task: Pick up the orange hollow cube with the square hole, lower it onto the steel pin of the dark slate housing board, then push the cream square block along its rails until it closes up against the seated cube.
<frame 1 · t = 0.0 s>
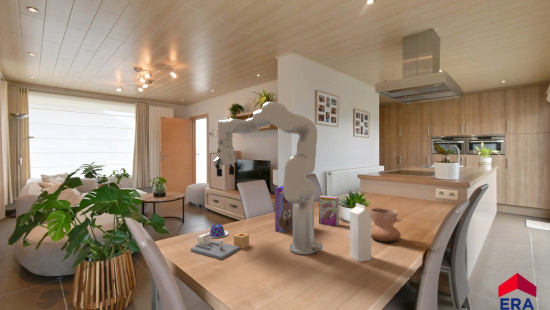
hand: (225, 175, 133), 31 cm above the table, tool pointing down, fingers open, 9 cm apart
candy bar box: (328, 224, 148), on the table
milk: (360, 258, 102), on the table
ceramic jug: (382, 239, 123), on the table
pudding: (217, 235, 132), on the table
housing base: (215, 250, 111), on the table
orange hollow cube: (241, 245, 116), on the table
cream square block: (204, 239, 115), point 4 cm above the table, slide at 0.0 cm
cereal box: (286, 227, 142), on the table
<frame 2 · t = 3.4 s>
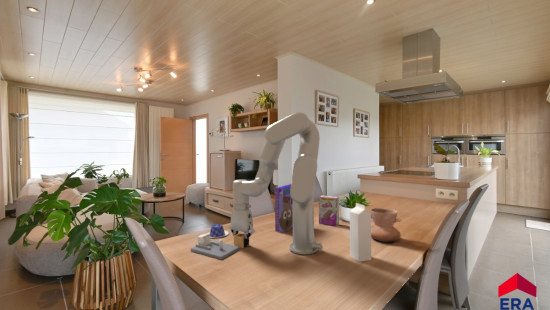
hand: (241, 244, 116), 0 cm above the table, tool pointing down, fingers closed on orange hollow cube, 5 cm apart
orange hollow cube: (241, 245, 116), on the table, touching gripper
everything else where it was.
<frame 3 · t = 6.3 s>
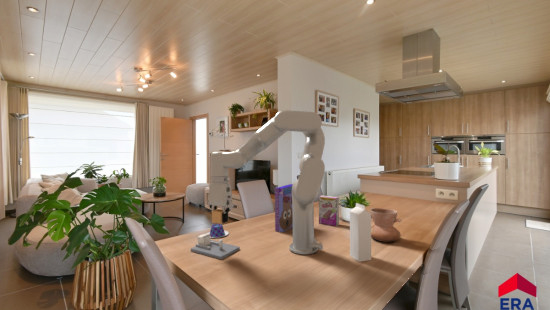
hand: (220, 220, 109), 14 cm above the table, tool pointing down, fingers closed on orange hollow cube, 5 cm apart
orange hollow cube: (220, 221, 109), point 13 cm above the table, touching gripper
everything else where it was.
when the fingers open (3 cm above the table, at t = 9.0 s): orange hollow cube drops 1 cm, resting on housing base.
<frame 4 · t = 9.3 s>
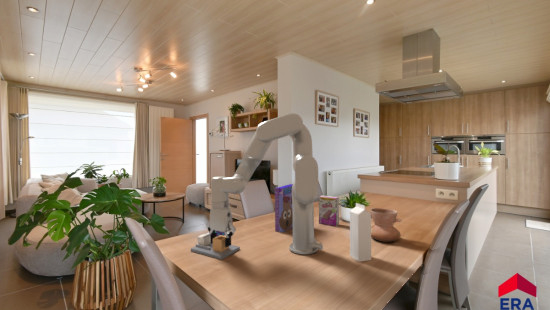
hand: (220, 244, 109), 3 cm above the table, tool pointing down, fingers open, 8 cm apart
orange hollow cube: (221, 249, 109), point 1 cm above the table, touching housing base
everything else where it was.
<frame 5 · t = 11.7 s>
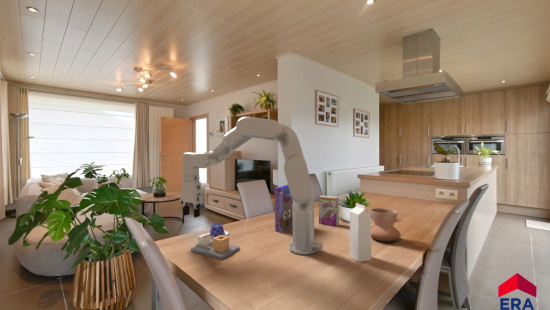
hand: (191, 215, 118), 14 cm above the table, tool pointing down, fingers open, 6 cm apart
nothing on the table moved.
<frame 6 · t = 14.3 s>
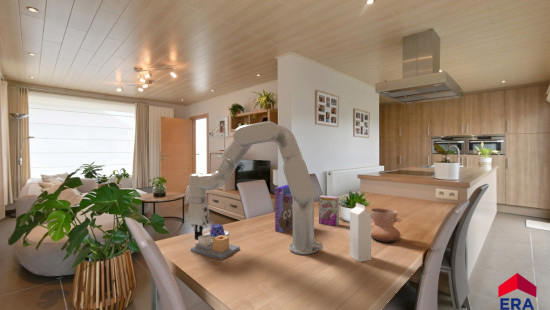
hand: (198, 238, 116), 3 cm above the table, tool pointing down, fingers closed
cream square block: (204, 239, 114), point 4 cm above the table, slide at 0.4 cm, touching gripper
everything else where it was.
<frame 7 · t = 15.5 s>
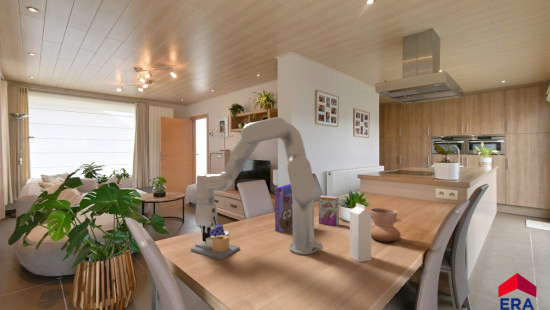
hand: (206, 240, 114), 3 cm above the table, tool pointing down, fingers closed
cream square block: (212, 241, 112), point 4 cm above the table, slide at 5.3 cm, touching gripper
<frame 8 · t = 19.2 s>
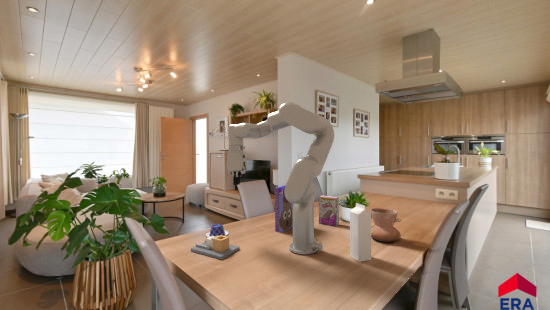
hand: (236, 184, 127), 27 cm above the table, tool pointing down, fingers closed
cream square block: (212, 241, 112), point 4 cm above the table, slide at 5.4 cm
at the end: orange hollow cube 0.1 cm from the target spot on the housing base, point 1.2 cm above the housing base's base; orange hollow cube tilted 0°; cream square block slide at 5.4 cm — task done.
